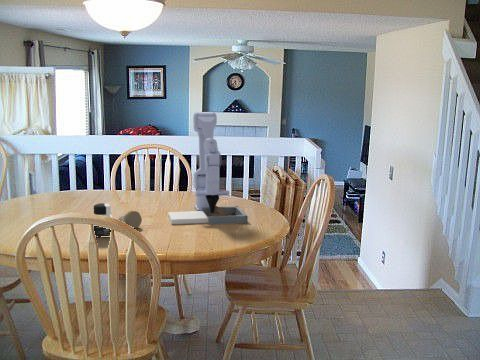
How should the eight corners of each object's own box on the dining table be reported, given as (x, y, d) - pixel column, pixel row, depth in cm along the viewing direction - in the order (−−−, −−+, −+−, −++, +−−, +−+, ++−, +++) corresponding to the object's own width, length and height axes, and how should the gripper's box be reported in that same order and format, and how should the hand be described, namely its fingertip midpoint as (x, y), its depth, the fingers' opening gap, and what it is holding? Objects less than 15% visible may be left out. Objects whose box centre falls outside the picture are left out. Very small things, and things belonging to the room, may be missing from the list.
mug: (125, 223, 210) (136, 204, 207) (136, 238, 204) (147, 219, 201) (110, 222, 204) (121, 202, 201) (120, 237, 199) (131, 217, 195)
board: (168, 216, 220) (168, 212, 220) (202, 215, 224) (202, 210, 224) (171, 224, 209) (171, 219, 209) (207, 222, 213) (207, 218, 212)
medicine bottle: (92, 238, 188) (91, 206, 185) (93, 233, 194) (92, 202, 192) (112, 237, 189) (112, 206, 187) (112, 232, 196) (111, 201, 194)
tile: (211, 208, 221) (214, 204, 222) (221, 215, 224) (224, 212, 224) (217, 211, 216) (220, 208, 216) (227, 219, 219) (229, 215, 219)
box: (201, 213, 226) (201, 207, 226) (237, 212, 230) (237, 206, 230) (208, 224, 210) (208, 217, 210) (247, 222, 214) (247, 215, 214)
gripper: (197, 183, 210) (196, 215, 213) (231, 182, 214) (230, 214, 216) (194, 180, 217) (194, 211, 220) (227, 179, 221) (227, 209, 223)
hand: (212, 212), depth 218 cm, fingers closed
